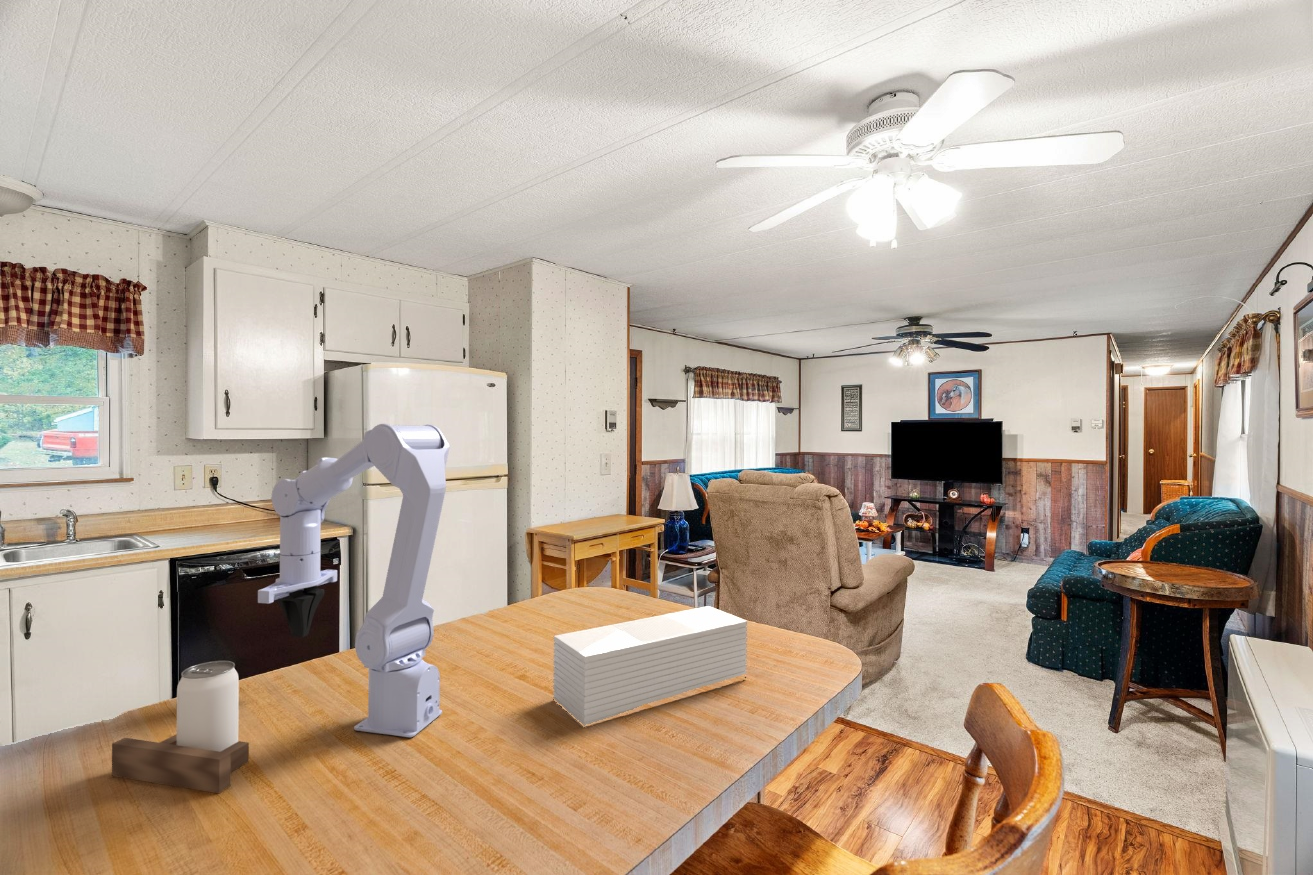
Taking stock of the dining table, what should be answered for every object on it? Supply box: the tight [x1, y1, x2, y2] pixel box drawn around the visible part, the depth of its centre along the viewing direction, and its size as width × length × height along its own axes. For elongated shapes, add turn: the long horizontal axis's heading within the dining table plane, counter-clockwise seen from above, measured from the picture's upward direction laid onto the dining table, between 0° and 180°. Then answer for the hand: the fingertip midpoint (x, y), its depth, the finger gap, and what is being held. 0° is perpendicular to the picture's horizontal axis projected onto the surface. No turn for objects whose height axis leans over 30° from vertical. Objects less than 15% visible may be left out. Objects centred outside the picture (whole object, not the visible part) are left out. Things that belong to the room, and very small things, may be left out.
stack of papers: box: [552, 605, 748, 726], centre depth 103 cm, size 32×11×11 cm, turn 124°
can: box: [176, 660, 240, 752], centre depth 80 cm, size 6×6×12 cm
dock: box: [111, 733, 250, 794], centre depth 77 cm, size 16×6×4 cm, turn 78°
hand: (299, 635), depth 100 cm, fingers closed
